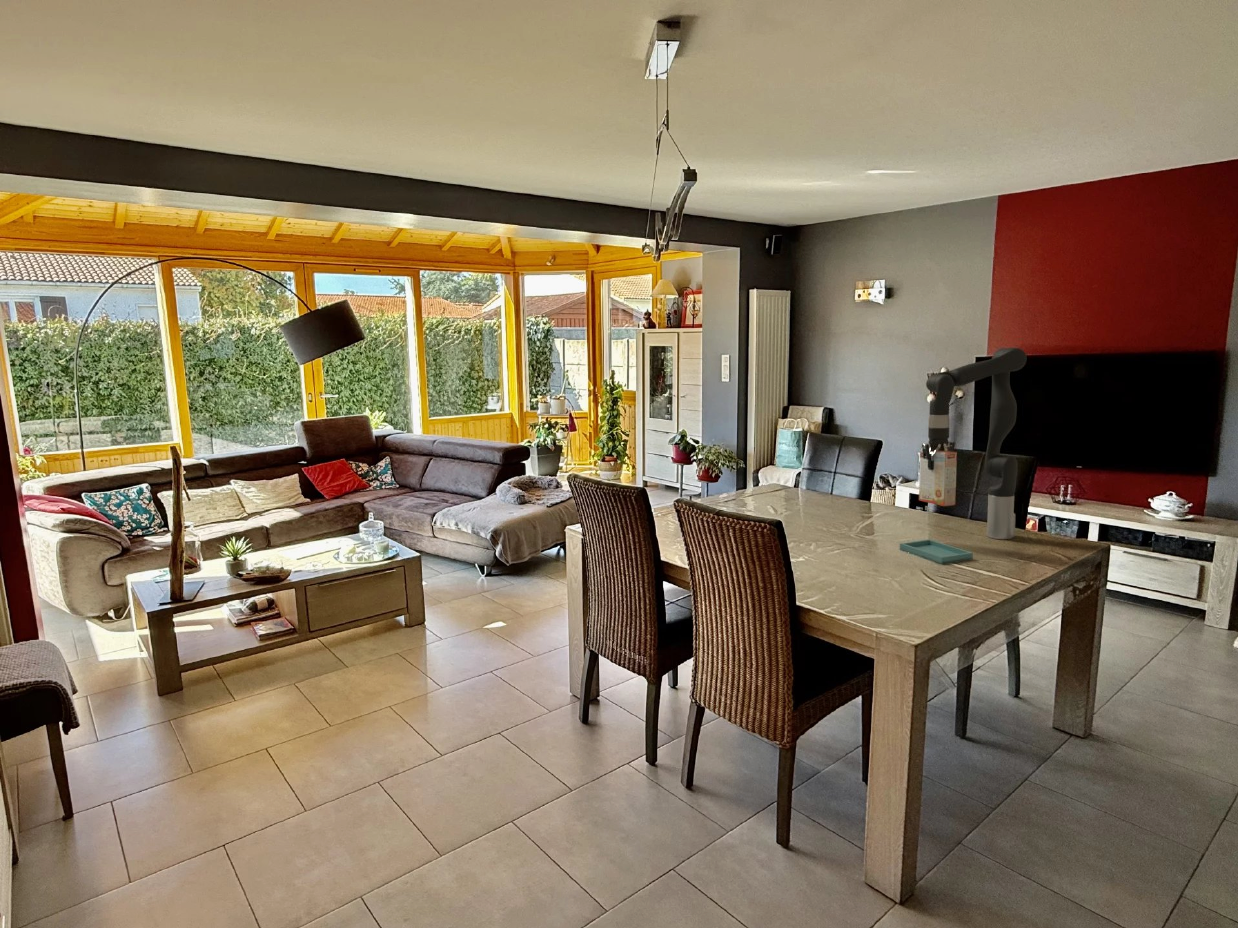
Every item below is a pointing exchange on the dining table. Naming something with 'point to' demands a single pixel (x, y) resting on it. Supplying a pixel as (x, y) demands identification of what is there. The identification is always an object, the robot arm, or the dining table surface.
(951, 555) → the teal tray
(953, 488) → the cracker box
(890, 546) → the dining table surface
